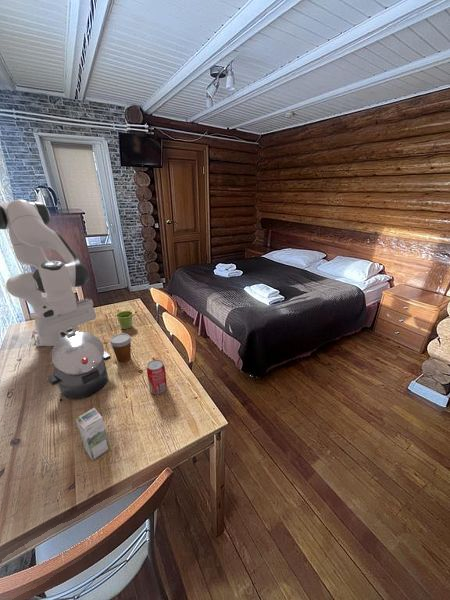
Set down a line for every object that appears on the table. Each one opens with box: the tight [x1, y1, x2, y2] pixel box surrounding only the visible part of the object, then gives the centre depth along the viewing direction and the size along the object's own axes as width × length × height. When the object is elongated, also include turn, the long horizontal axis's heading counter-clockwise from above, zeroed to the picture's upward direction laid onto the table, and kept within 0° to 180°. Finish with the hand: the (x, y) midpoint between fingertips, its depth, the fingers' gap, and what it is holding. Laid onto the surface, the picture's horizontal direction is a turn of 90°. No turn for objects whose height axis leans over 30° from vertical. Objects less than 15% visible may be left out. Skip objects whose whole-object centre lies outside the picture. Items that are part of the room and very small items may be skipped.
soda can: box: [146, 359, 168, 395], centre depth 105 cm, size 7×7×13 cm
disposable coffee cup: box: [109, 333, 132, 364], centre depth 124 cm, size 10×10×12 cm
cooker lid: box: [51, 327, 105, 376], centre depth 101 cm, size 20×18×4 cm
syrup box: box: [75, 407, 111, 461], centre depth 80 cm, size 6×6×14 cm
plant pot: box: [115, 310, 134, 330], centre depth 153 cm, size 9×9×9 cm
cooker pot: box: [46, 350, 111, 401], centre depth 107 cm, size 19×23×11 cm
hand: (71, 336), depth 101 cm, fingers closed
